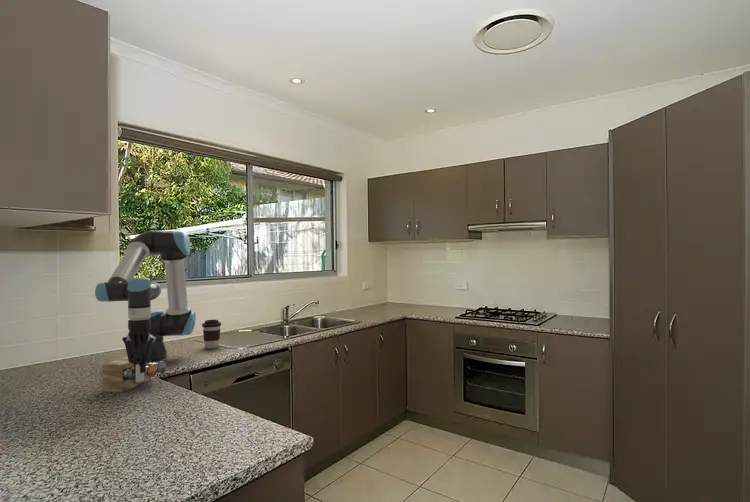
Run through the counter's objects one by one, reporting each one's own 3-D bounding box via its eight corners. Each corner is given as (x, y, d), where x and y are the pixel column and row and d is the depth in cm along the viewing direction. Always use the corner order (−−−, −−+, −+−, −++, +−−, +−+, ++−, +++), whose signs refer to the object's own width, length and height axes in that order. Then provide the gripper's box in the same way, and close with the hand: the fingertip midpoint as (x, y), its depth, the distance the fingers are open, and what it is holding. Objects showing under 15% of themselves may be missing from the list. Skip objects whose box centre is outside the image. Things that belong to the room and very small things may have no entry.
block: (133, 378, 173) (133, 354, 173) (151, 379, 171) (151, 354, 172) (102, 391, 157) (102, 364, 157) (121, 391, 156) (121, 365, 156)
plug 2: (137, 370, 172) (137, 359, 172) (165, 371, 170) (165, 359, 170) (128, 373, 167) (128, 361, 167) (158, 374, 165) (158, 362, 165)
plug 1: (108, 377, 162) (108, 365, 162) (138, 378, 160) (138, 366, 160) (98, 380, 158) (98, 368, 158) (129, 381, 156) (129, 369, 156)
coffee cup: (201, 346, 234) (201, 319, 235) (220, 344, 239) (220, 318, 239) (202, 350, 225) (202, 322, 226) (222, 348, 230) (221, 320, 230)
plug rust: (127, 373, 167) (127, 362, 167) (157, 374, 165) (157, 363, 165) (119, 377, 162) (119, 365, 162) (149, 378, 160) (149, 366, 160)
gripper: (116, 320, 155) (116, 383, 155) (148, 320, 153) (148, 384, 153) (131, 317, 163) (131, 377, 162) (161, 317, 161) (162, 378, 161)
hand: (139, 381), depth 158 cm, fingers closed
